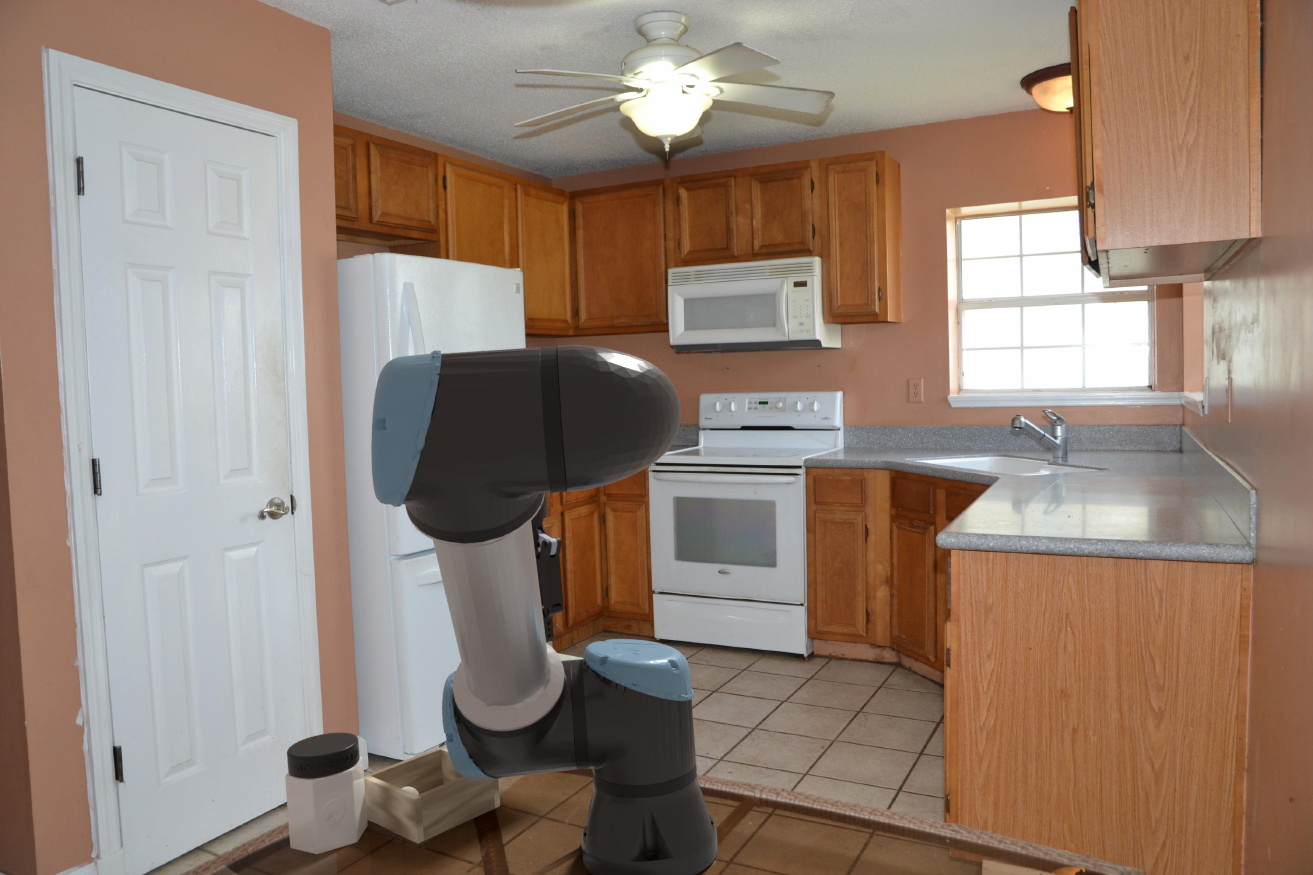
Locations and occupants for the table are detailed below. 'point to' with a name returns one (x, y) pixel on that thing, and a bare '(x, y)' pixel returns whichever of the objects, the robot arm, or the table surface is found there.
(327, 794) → the jar
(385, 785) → the box
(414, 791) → the ball
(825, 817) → the table surface
